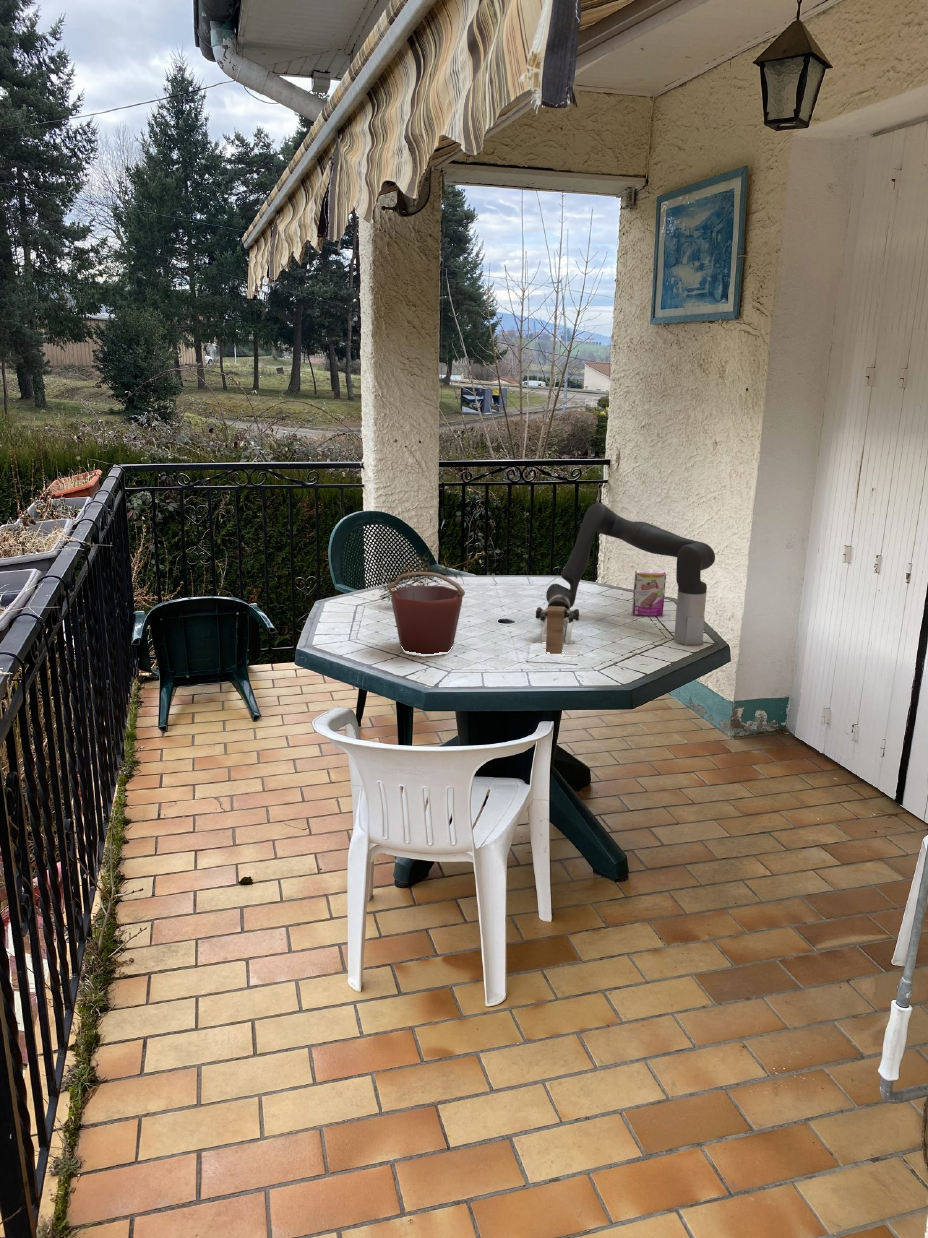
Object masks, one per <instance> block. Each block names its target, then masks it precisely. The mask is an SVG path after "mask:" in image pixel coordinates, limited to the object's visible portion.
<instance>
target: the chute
mask: <svg viewBox="0 0 928 1238" xmlns="http://www.w3.org/2000/svg"><path fill="white" fill-rule="evenodd" d="M573 623H574V621H573V622H571V623H569V620H567V621H566V620H564V626H567V627H566V632H565V641H564V644H570V645H571V638H572V633H573V631H572V630H573V625H574V624H573ZM546 638H547V619H545V622H544V628H543V632H542V635H541V643H542V642H546Z"/></svg>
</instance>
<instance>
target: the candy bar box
mask: <svg viewBox="0 0 928 1238" xmlns="http://www.w3.org/2000/svg"><path fill="white" fill-rule="evenodd" d="M666 579H667V573H666V571H659V570H657V571H656V570H637V569H636V570H634V581H633V582H634V583H633V594H632V604H631V607H632V608H631V614H632V616H637V617H638V616H641V617H658V616H662V617H663V615H664V603H665V593H666V591H665V590H666V582H667V581H666Z"/></svg>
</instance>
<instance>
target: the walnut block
mask: <svg viewBox="0 0 928 1238" xmlns="http://www.w3.org/2000/svg"><path fill="white" fill-rule="evenodd" d="M547 608H548V612H547V638H546V652H550V653H562V650H563V644H564V626H565V625H564V607H556V606H549V607H548V606H547Z"/></svg>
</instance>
